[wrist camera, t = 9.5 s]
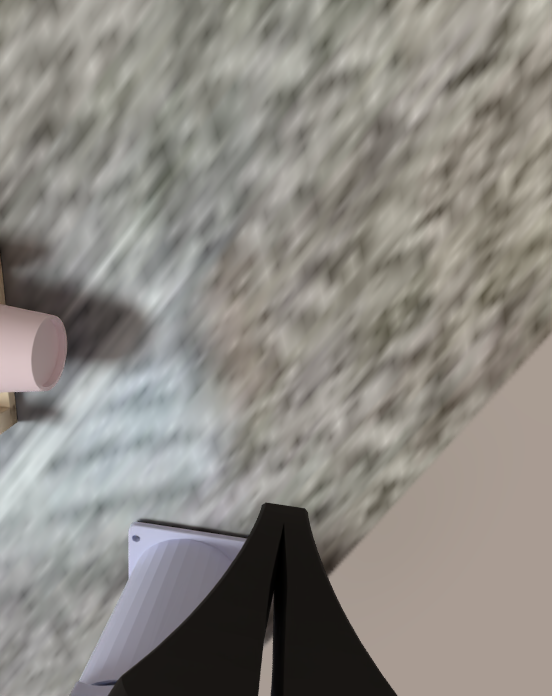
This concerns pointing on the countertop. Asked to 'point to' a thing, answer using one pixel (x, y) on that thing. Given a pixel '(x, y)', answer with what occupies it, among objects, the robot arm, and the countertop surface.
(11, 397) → the u rest
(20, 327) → the smoothie
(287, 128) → the countertop surface
